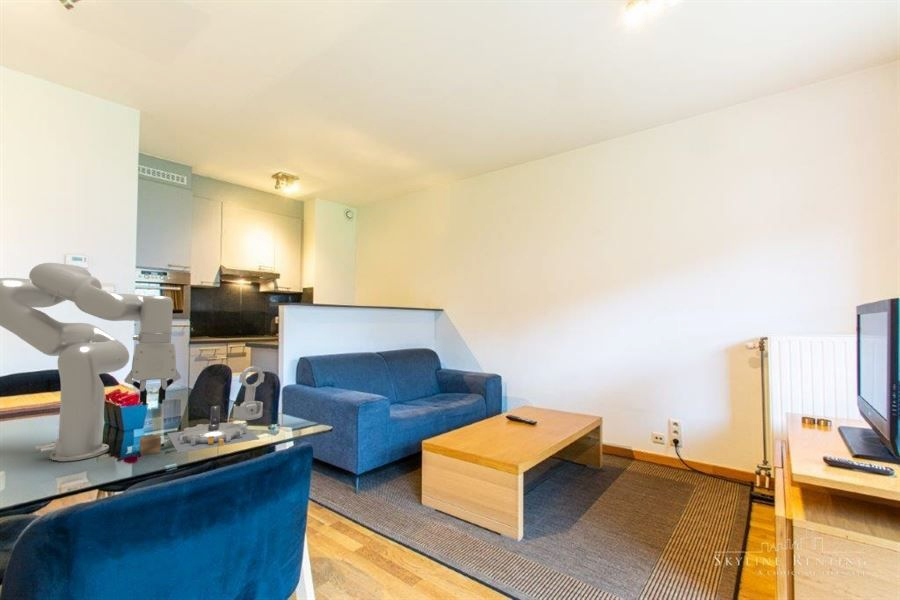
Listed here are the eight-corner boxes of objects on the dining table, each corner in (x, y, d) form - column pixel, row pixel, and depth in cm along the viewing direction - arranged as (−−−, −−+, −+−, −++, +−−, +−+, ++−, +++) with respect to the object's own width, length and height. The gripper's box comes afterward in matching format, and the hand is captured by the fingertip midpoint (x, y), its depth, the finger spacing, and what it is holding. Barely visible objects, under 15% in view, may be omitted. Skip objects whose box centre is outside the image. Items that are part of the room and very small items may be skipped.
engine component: (228, 421, 158) (241, 425, 152) (230, 366, 158) (243, 369, 152) (256, 415, 166) (269, 420, 160) (258, 364, 167) (271, 366, 161)
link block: (140, 461, 115) (141, 440, 115) (139, 456, 118) (140, 436, 118) (160, 458, 118) (161, 437, 118) (158, 453, 121) (159, 434, 121)
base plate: (177, 458, 118) (178, 447, 118) (166, 438, 135) (167, 428, 135) (259, 443, 132) (260, 433, 132) (240, 427, 150) (240, 418, 150)
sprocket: (167, 436, 131) (168, 411, 131) (227, 424, 147) (228, 401, 147) (195, 449, 120) (197, 421, 121) (257, 434, 136) (258, 409, 136)
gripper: (119, 340, 111) (116, 410, 110) (191, 339, 122) (188, 402, 121) (118, 338, 117) (114, 404, 116) (186, 337, 127) (184, 398, 127)
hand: (152, 403), depth 118 cm, fingers open, 3 cm apart
